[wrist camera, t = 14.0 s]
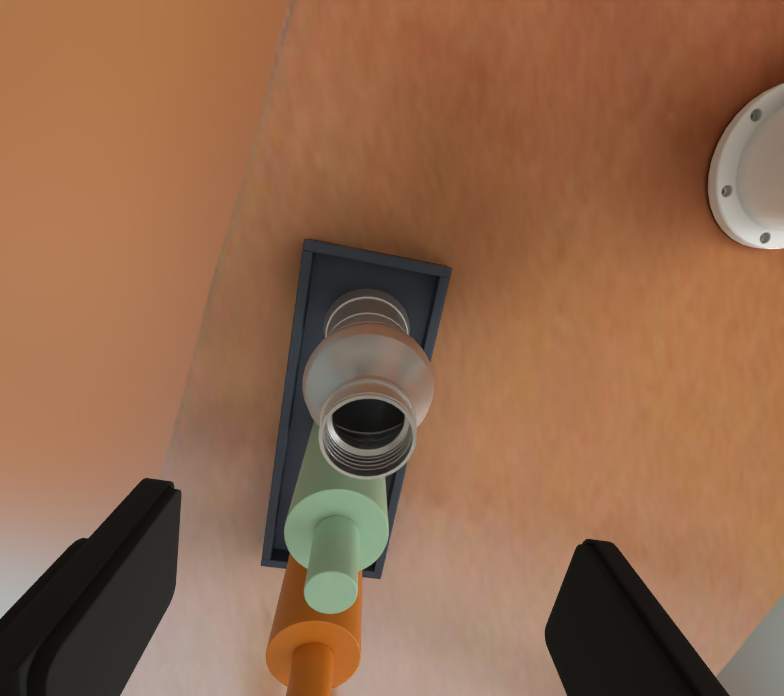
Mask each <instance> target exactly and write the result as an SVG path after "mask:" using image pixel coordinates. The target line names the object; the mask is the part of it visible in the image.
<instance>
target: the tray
mask: <svg viewBox="0 0 784 696" xmlns="http://www.w3.org/2000/svg"><path fill="white" fill-rule="evenodd" d="M451 271H452V268H450V267H448V266H445V265H440V264H435V263H429V262H424V261H419V260H414V259H409V258H404V257H399V256H394V255H389V254H384V253H379V252H373V251H368V250H363V249H358V248H353V247H348V246H343V245H338V244H333V243H328V242H322V241H317V240H312V239H304V243H303V252H302V259H301V267H300V274H299V282H298V289H297V297H296V304H295V312H294V319H293V327H292V334H291V342H290V349H289V357H288V365H287V372H286V380H285V387H284V395H283V402H282V410H281V417H280V425H279V432H278V440H277V447H276V455H275V462H274V470H273V478H272V485H271V493H270V500H269V508H268V515H267V523H266V530H265V538H264V545H263V553H262V560H261V566H267V567H276V568H285V569H286V567H287V563H288V559H289V555H290V552H289V550H288V548H287V546H286V542H285V538H284V527H285V522H286V519H287V515H288V512H289V508H290V504H291V501H292V497H293V494H294V490H295V487H296V483H297V480H298V476H299V472H300V469H301V465H302V462H303V458H304V455H305V451H306V448H307V444H308V440H309V437H310V433H311V430H312V426H313V423H314V420H313V418H312V417H311V414H310V412H309V410H308V407H307V405H306V402H305V400H304V395H303V389H302V386H303V374H304V370H305V367H306V364H307V362H308V360H309V358H310V356H311V354H312V353H313V351H314V350H315V349H316V347H317V346H318V345H319V344H320V343H321V341H322V340H323V339H325V337H324V321H325V317H326V314H327V312H328V310H329V308H330V307H331V306H332V304H333V303H334V302H335V301H336V300H337V299H338V298H339V297H341V296H342V295H344V294H346V293H348V292H350V291H353V290H356V289H364V288H369V289H377V290H380V291H383V292H386V293H388V294H390V295H391V296H393V297H394V298H395V299H397V300H398V302H399V303H400V304H401V305H402V306H403V308H404V309H405V311H406V313H407V316H408V319H409V325H410V334H409V336H410V337H412V338H413V339H414V340H415V341H416V342H417V343H418V344H419V346H420V347H421V348H422V349H423V351H424V352H425V354H426V355H427V357H428V359H429V361H430V362H431V358H432V353H433V349H434V345H435V340H436V336H437V332H438V327H439V323H440V319H441V314H442V310H443V306H444V301H445V297H446V293H447V288H448V284H449V280H450V279H449V278H450V275H451ZM407 462H408V461H407ZM407 462H406V463H405V464H404V465H403V466H402V467H401V468H400V469H398V470H397V471H396V472H394V473H392V474H390V475H388V476H385V483H386V497H387V511H388V526H389V536H388V541H387V544H386V547H385V549H384V551H383V552H382V554H381V555H380V556H379V558H378V559H377V560H376V561H375V562H374V563H372V564H371V565H370V566H368V567H367V568H365V569H363V570H362V577H366V578H375V579H381V575H382V571H383V566H384V562H385V558H386V553H387V549H388V545H389V540H390V536H391V532H392V527H393V523H394V518H395V514H396V510H397V505H398V501H399V497H400V492H401V488H402V484H403V479H404V475H405V471H406V466H407Z"/></svg>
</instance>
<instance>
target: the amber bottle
mask: <svg viewBox="0 0 784 696" xmlns="http://www.w3.org/2000/svg"><path fill="white" fill-rule="evenodd" d="M306 575H307V568H305V567H304V566H302V565H301V564H299V563H298V562H297V561H296V560H295V559H294V558H293V556H292V555H291V553H290V555H289V559H288V563H287V567H286V571H285V576H284V580H283V584H282V588H281V592H280V596H279V600H278V605H277V609H276V613H275V617H274V621H273V625H272V630H271V634H270V638H269V642H268V646H267V650H266V663H267V666H268V669H269V671H270V672H271V674H272V675H273V676H274V677H275V678H276V679H277V680H278V681H279V682H281V683H282V684H284V685H286V686H288V687H287V693H286V696H331V690H332V688H334V687H337V686H339V685H341V684H343V683H344V682H346V681H347V680H348V679H349V678H350V677H351V676H352V675H353V674H354V673H355V671H356V670H357V668H358V666H359V663H360V658H361V614H362V570H361V571H359V572H358V594H357V598H356V600H355V602H354V603H353V604H352V605H351V606H350V607H349V608H348V609H346V610H344V611H342V612H339V613H334V614H326V613H321V612H318V611H316V610H314V609H313V608H311V607H310V606H309V605H308V604H307V602H306V600H305V597H304V586H305V580H306Z"/></svg>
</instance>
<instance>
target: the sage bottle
mask: <svg viewBox="0 0 784 696" xmlns="http://www.w3.org/2000/svg"><path fill="white" fill-rule="evenodd" d="M318 437H319V426H318V425H317V424H316V422H315V421H314V423H313V426H312V430H311V433H310V437H309V440H308V444H307V448H306V451H305V455H304V458H303V462H302V465H301V469H300V472H299V476H298V480H297V483H296V487H295V490H294V494H293V497H292V501H291V504H290V508H289V512H288V515H287V519H286V522H285V527H284V538H285V542H286V546H287V548H288V550H289V552H290V553H291V555H292V556H293V558H294V559H295V560H296V561H297V562H298V563H299V564H301V565H302V566H304V567H305V568H307V575H306V580H305V586H304V597H305V600H306V602H307V604H308V605H309V606H310V607H311V608H313V609H314V610H316V611H318V612H321V613H326V614H334V613H339V612H342V611H344V610H346V609H348V608H349V607H350V606H351V605H352V604H353V603H354V602H355V600H356V598H357V594H358V572H359V571H361V570H363V569H365V568H367V567H368V566H370V565H371V564H372V563H374V562H375V561H376V560H377V559H378V558H379V556H380V555H381V554H382V552H383V551H384V549H385V547H386V544H387V541H388V536H389V526H388V511H387V497H386V483H385V476H384V477H381V478H377V479H357V478H352V477H349V476H347V475H344V474H342V473H340V472H339V471H337V470H335V469H334V468H333V467H332V466H331V465H330V464H329V463H328V462H327V460H326V459H325V458H324V456H323V454H322V452H321V449H320V444H319V438H318Z"/></svg>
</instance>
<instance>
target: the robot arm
mask: <svg viewBox="0 0 784 696" xmlns="http://www.w3.org/2000/svg"><path fill="white" fill-rule="evenodd" d="M708 196H709V202H710V207H711V210H712V212H713V215H714V218H715V220H716V221H717V223H718V224H719V226H720V227H721V229H722V230H723V231H724V232H725V233H726V234H727V235H728V236H729V237H730V238H731V239H733V240H735V241H737V242H739V243H740V244H742V245H746V246H749V247H753V248H762V249H781V248H784V83H782V84H779V85H777V86H775V87H773V88H771V89H769V90H767V91H764V92H763V93H761V94H760V95H759V96H757V97H756V98H754V99H753V100H751V101H750V102H749V103H748V104H747V105H746V106H745V107H744V108H743V109H742V110H741V111H740V112H739V113H737V115H736V116H735V117H734V119H733V120H732V121H731V122H730V124H729V125H728V126H727V128H726V129H725V131H724V133H723V135H722V137H721V138H720V140H719V142H718V144H717V147H716V149H715V152H714V155H713V157H712V160H711V165H710V170H709V175H708ZM180 509H181V490H178V489H174V483H173V482H171V481H164V480H156V479H149V478H145V479H143V480H142V481H141V482H140V483H139V484H138V485H137V486H136V487H135V488H134V489H133V490H132V491H131V493H130V494H129V495H128V496H127V497H126V498H125V499H124V500H123V501H122V502H121V504H120V505H119V506H118V507H117V508H116V509H115V510H114V511H113V512H112V513H111V514H110V516H109V517H108V518H107V519H106V520H105V521H104V522H103V523H102V524H101V525H100V526H99V528H98V529H97V530H96V531H95V532H94V533H93V534H92V535H91V536H90V537H89V538H88V539H87V538H81V539H79V540H77V541H75V542H74V543H73V544H72V545H71V546H69V547H68V548H67V550H66V551H65V552H64V553H63V554H62V555H61V556H60V557H59V558H58V559H57V560H56V561H55V562H54V563H53V564H52V565H51V566H50V567H49V569H47V571H46V572H45V573H44V574H43V575H42V576H41V577H40V578H39V579H38V580H37V581H36V582H35V583H34V584H33V585H32V586H31V587H30V588H29V589H28V590H27V592H26V593H25V594H24V595H23V596H22V597H21V598H20V599H19V600H18V601H17V602H16V603H15V604H14V605H13V606H12V607H11V608H10V609H9V610H8V611H7V613H6V614H5V615H4V616H3V617H2V618H1V619H0V696H120V695H121V693H122V691H123V689H124V687H125V685H126V684H127V682H128V680H129V678H130V676H131V674H132V672H133V671H134V669H135V667H136V665H137V663H138V661H139V660H140V658H141V656H142V654H143V652H144V650H145V648H146V647H147V645H148V643H149V641H150V639H151V637H152V636H153V634H154V632H155V630H156V628H157V626H158V624H159V623H160V621H161V619H162V617H163V615H164V613H165V612H166V610H167V608H168V606H169V604H170V602H171V600H172V597H173V594H174V591H175V586H176V573H177V557H178V541H179V525H180ZM545 641H546V645H547V647H548V650H549V652H550V655H551V657H552V660H553V662H554V664H555V667H556V669H557V672H558V674H559V677H560V679H561V681H562V684H563V686H564V689H565V691H566V694H567V696H729V694H728V693H727V692H726V690H725V689H724V688H723V686H722V685H721V684H720V683H719V681H718V680H717V679H716V677H715V676H714V675H713V673H712V672H711V671H710V669H709V668H708V667H707V665H706V664H705V663H704V661H703V660H702V659H701V657H700V656H699V655H698V653H697V652H696V651H695V649H694V648H693V647H692V646H691V644H690V643H689V642H688V640H687V639H686V638H685V636H684V635H683V634H682V632H681V631H680V630H679V628H678V627H677V626H676V624H675V623H674V622H673V620H672V619H671V618H670V617H669V615H668V614H667V613H666V611H665V610H664V609H663V607H662V606H661V605H660V603H659V602H658V601H657V599H656V598H655V597H654V595H653V594H652V593H651V591H650V590H649V589H648V588H647V586H646V585H645V584H644V582H643V581H642V580H641V578H640V577H639V576H638V574H637V573H636V572H635V570H634V569H633V568H632V566H631V565H630V564H629V562H628V561H627V560H626V558H625V557H624V556H623V555H622V553H621V552H620V551H619V549H618V548H617V547H616V546H615V545H614V544H613V543H611V542H607V541H600V540H593V539H586V540H585V541H584V542H583V543H582V544H580V545H578V546H577V547H576V549H575V552H574V554H573V557H572V560H571V562H570V565H569V567H568V570H567V573H566V575H565V578H564V580H563V583H562V586H561V588H560V591H559V593H558V596H557V599H556V601H555V604H554V606H553V609H552V612H551V614H550V617H549V619H548V622H547V625H546V628H545Z"/></svg>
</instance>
